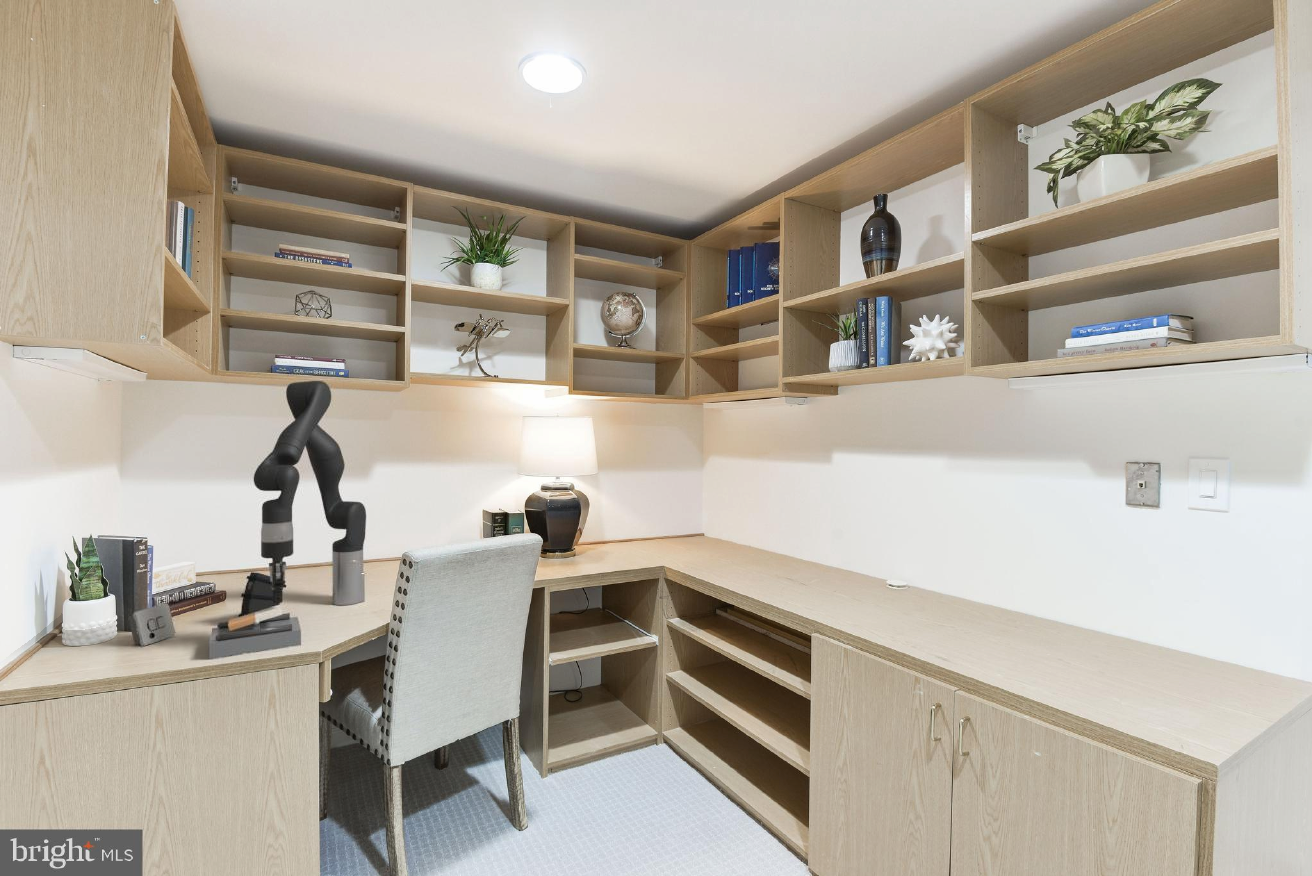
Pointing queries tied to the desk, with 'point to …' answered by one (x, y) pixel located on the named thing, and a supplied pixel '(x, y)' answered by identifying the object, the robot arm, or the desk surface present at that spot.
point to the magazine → (257, 594)
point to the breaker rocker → (254, 617)
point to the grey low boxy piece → (255, 636)
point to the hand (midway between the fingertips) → (277, 602)
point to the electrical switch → (152, 624)
